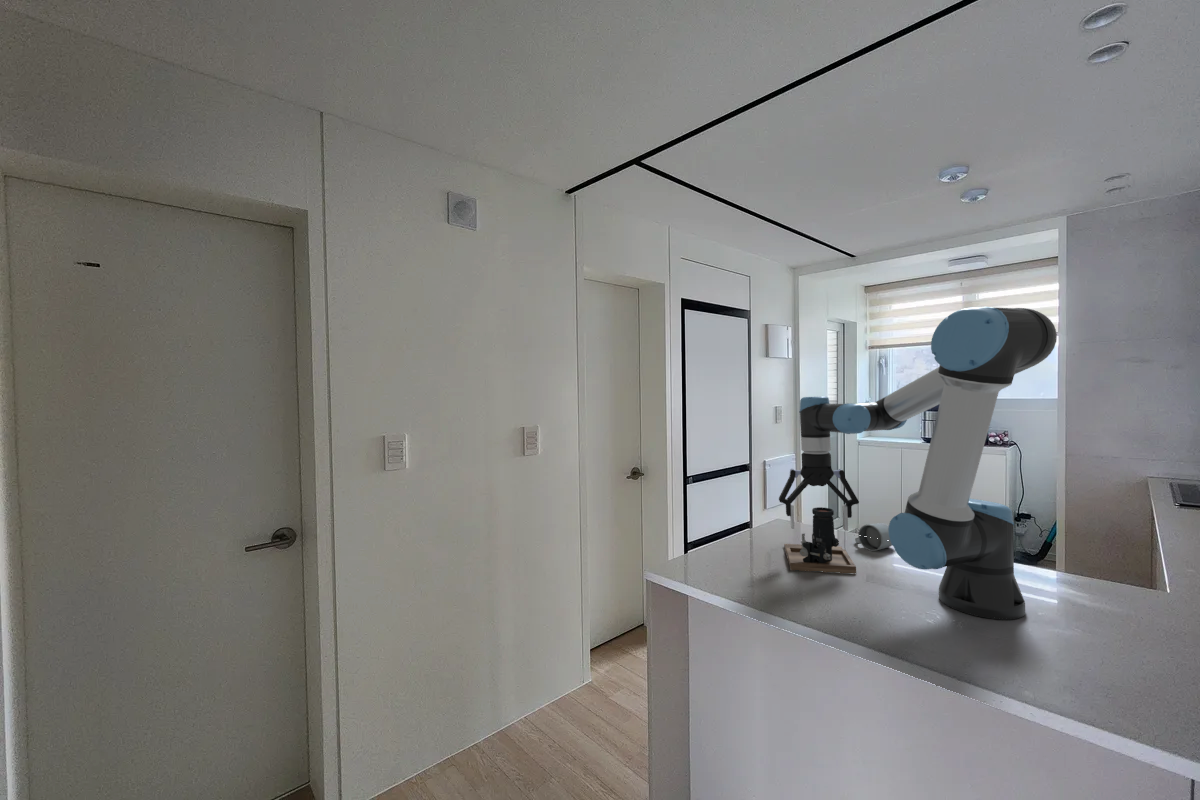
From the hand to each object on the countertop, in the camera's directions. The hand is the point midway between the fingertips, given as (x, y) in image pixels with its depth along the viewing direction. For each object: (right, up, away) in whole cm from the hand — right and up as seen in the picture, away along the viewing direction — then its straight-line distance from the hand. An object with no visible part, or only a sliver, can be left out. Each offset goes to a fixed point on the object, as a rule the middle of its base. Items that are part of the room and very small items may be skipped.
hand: (818, 528), depth 137 cm
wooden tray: (+1, -10, +3) cm, 10 cm away
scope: (+1, -9, 0) cm, 9 cm away
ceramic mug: (+22, -9, +12) cm, 27 cm away
